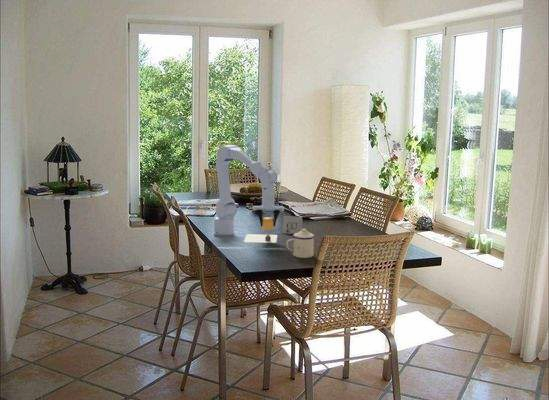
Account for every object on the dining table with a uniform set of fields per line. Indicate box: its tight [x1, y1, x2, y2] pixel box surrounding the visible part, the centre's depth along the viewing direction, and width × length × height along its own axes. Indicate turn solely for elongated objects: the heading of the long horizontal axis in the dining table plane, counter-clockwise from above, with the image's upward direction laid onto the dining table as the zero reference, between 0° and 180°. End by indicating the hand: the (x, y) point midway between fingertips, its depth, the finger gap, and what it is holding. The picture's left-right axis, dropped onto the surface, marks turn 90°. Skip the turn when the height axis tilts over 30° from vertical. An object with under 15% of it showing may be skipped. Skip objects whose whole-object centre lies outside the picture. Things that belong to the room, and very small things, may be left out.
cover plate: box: [243, 233, 278, 244], centre depth 282 cm, size 15×16×4 cm
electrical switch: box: [282, 215, 303, 235], centre depth 295 cm, size 9×5×9 cm, turn 78°
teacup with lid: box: [285, 228, 315, 259], centre depth 255 cm, size 12×9×12 cm
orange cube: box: [261, 216, 275, 231], centre depth 277 cm, size 5×5×5 cm
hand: (268, 226), depth 277 cm, fingers closed on orange cube, 5 cm apart
